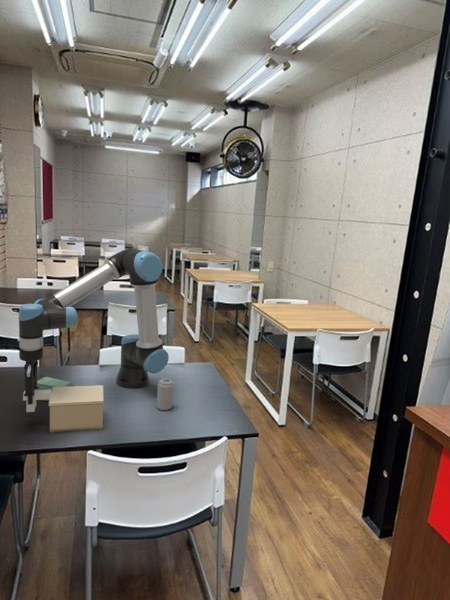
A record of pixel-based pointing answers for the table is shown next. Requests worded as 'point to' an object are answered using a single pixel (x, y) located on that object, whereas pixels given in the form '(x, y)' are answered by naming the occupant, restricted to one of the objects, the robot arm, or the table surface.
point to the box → (51, 384)
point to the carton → (76, 417)
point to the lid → (71, 395)
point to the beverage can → (165, 394)
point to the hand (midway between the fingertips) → (31, 408)
